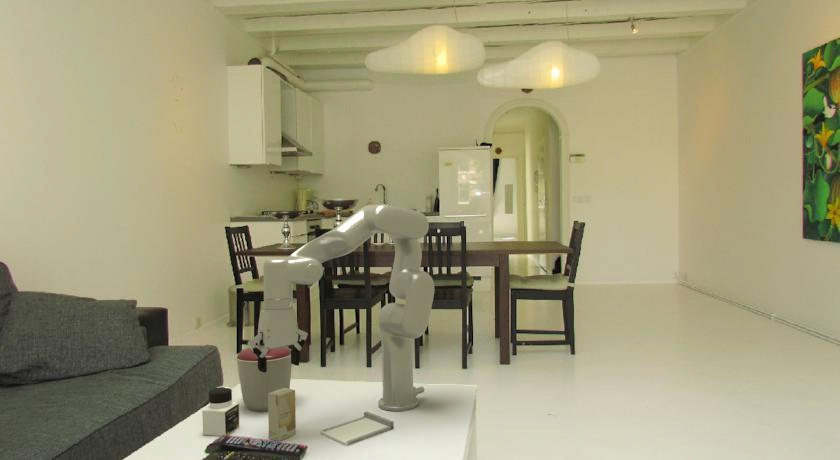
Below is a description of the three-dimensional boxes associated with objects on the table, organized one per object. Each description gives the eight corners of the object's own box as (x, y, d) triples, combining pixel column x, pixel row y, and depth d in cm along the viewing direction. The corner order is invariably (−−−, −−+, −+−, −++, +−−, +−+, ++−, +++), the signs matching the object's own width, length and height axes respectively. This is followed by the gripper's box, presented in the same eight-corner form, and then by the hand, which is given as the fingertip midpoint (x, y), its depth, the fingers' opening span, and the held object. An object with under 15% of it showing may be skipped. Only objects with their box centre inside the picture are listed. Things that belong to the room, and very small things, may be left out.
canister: (266, 419, 164) (264, 348, 163) (223, 410, 172) (221, 342, 172) (307, 401, 179) (305, 336, 179) (266, 393, 188) (264, 331, 188)
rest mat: (366, 418, 163) (366, 411, 163) (393, 428, 154) (393, 421, 154) (320, 433, 152) (320, 426, 152) (346, 446, 143) (346, 438, 143)
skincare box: (279, 442, 147) (278, 395, 147) (268, 438, 149) (266, 393, 149) (297, 433, 152) (295, 389, 152) (285, 430, 155) (284, 386, 154)
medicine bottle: (226, 436, 151) (224, 392, 151) (202, 435, 153) (201, 391, 153) (239, 427, 158) (238, 385, 158) (217, 425, 160) (215, 384, 160)
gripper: (299, 300, 159) (299, 360, 159) (241, 306, 147) (242, 371, 147) (313, 302, 153) (314, 364, 153) (255, 309, 141) (255, 377, 141)
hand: (279, 368), depth 150 cm, fingers open, 9 cm apart
